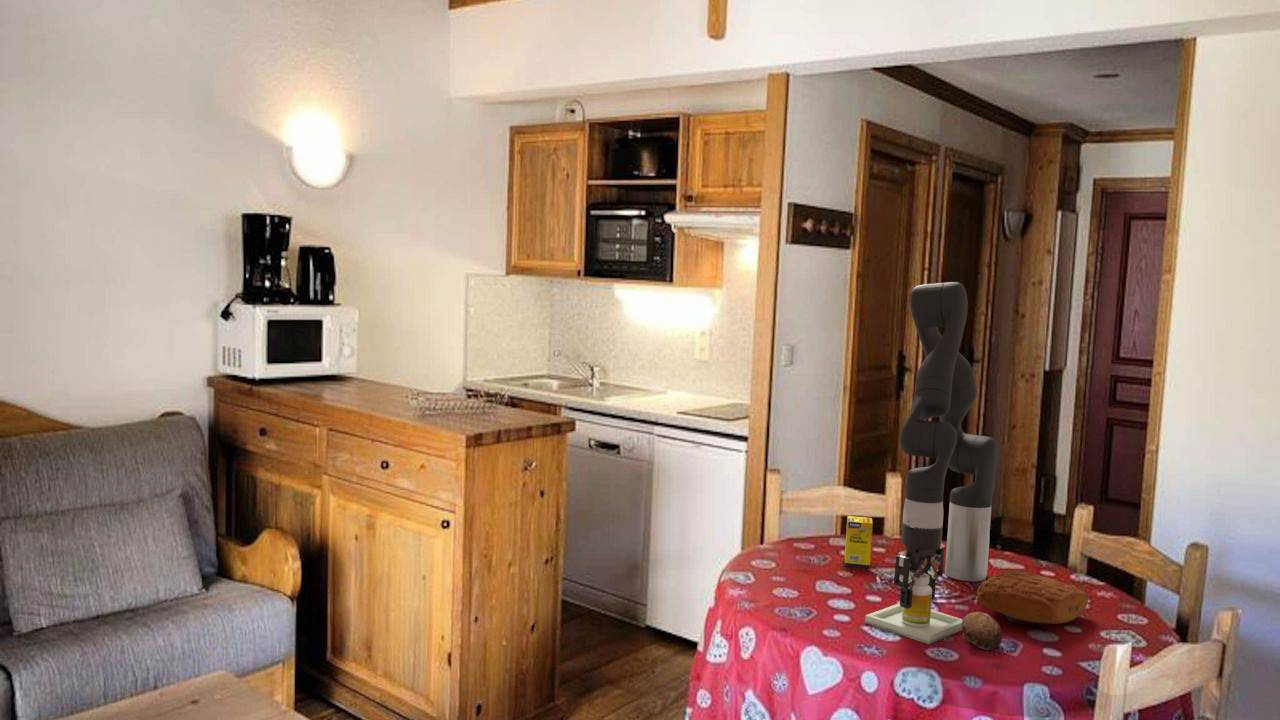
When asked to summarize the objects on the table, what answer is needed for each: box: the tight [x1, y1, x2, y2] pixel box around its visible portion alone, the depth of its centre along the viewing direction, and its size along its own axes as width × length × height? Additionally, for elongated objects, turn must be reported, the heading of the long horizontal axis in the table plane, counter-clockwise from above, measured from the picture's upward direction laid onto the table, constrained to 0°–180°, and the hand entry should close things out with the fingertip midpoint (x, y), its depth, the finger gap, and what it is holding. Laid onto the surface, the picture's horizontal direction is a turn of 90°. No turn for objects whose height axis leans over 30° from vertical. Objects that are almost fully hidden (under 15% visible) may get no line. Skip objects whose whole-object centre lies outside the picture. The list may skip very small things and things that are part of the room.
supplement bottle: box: [902, 573, 933, 627], centre depth 194 cm, size 5×5×10 cm
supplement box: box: [844, 515, 874, 569], centre depth 235 cm, size 6×6×11 cm
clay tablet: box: [976, 570, 1089, 625], centre depth 201 cm, size 22×17×8 cm
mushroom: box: [962, 611, 1003, 651], centre depth 185 cm, size 8×8×6 cm
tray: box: [864, 602, 964, 645], centre depth 194 cm, size 14×14×2 cm
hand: (917, 602), depth 193 cm, fingers open, 8 cm apart
